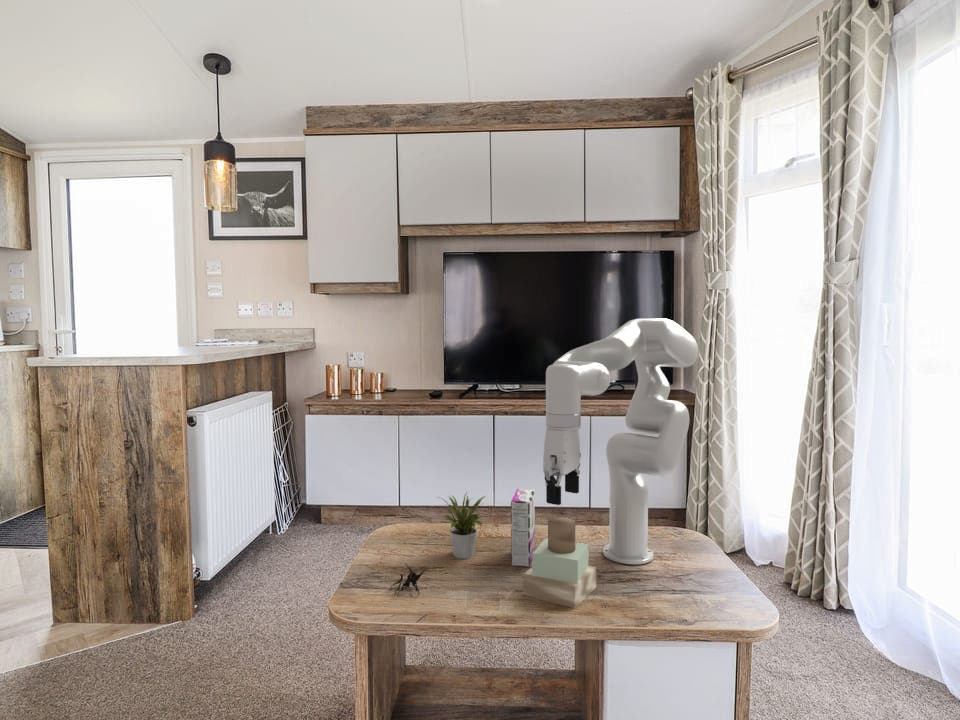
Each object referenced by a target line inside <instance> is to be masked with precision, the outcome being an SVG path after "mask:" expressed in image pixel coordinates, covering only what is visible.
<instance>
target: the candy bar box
mask: <svg viewBox="0 0 960 720" xmlns="http://www.w3.org/2000/svg"><path fill="white" fill-rule="evenodd" d="M535 491H536V490H535V489H528V488H527V489H526V488H517V489H516V491H515V493H514V495H513V497H512V498H511V500H510V529H511V530H510V533H511V534H510V535H511V536H510V537H511V541H510V542H511V543H510V545H511V549H510V551H511V553H510V554H511V557H510V558H511V559H510V560H511V566H512V567H521V568H522V567H523V568H531V564H532V560H533V552H534V551H535V550H536V545H535V544H536V540H535V538H536V536H535V535H536V533H535V531H536V529H535V528H536V527H535V526H536V525H535V521H536V520H535V519H536V517H535V516H536V515H535V508H536V507H535Z"/></svg>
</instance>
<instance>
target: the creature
mask: <svg viewBox="0 0 960 720" xmlns="http://www.w3.org/2000/svg"><path fill="white" fill-rule="evenodd" d="M405 566H406V567H407V569H408V570H409V571H410V572H409V574H408V575H406V574H405V573H400V574H399V576H400V579H399V580H398V581H396V582H395V583H393V584H392V585H391V586H390V587H389V591H390V592H392V591H391V589H392V586H395V585H398V587H397V589H396V590H395V591H394V597H395V596H396V597H398V596H399V594H400V592H403V591H404V589H406V588H409V587H411V586H410V585H411V584H412V586H413V587H414V588H415V593H416V592H418V594H417V596H416V597H414V599H416V598H418V597H419V596H420V590H419V588H418V584H417V583H418V580H419V579H420V578H421V577H422V575H423V573H424V572H426V571H427V570H428V569H427V568H425V569H424V570H422V571H421V572H420V573H419V574H416V571H413V570H412V569H411V568H410V567H409V565H408V564H407V563H405ZM404 577H406V578H405V579H404V580H405V582H402V580H403V578H404ZM401 585H402V586H401ZM397 592H398V593H397ZM396 594H397V595H396ZM412 594H413V595H414V593H411V594H410V595H411V597H413V595H412Z"/></svg>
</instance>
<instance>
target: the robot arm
mask: <svg viewBox="0 0 960 720" xmlns="http://www.w3.org/2000/svg"><path fill="white" fill-rule="evenodd" d="M698 357H699V345H698V343H697V341H696V339H695V338H694V336H693V335H692V334H690V333H689V331H687V330H686V329H685V328H683V327H682V326H681V325H680V324H678V323H676V322H675V321H674V320H671V319H668V318H663V317H662V318H635V319H631V320H628V321H626V322H625V323H624V324H623V325H621V326H620V327H619V328H617V329H616V330H615V331H613V332H612V333H611V334H609V335H608V336H607V337H605V338H602V339H600V340H595V341H593V342H590V343H588V344H584V345H582V346H579V347H576V348H573V349H571V350H569V351H568V352H566V353H565V354H563V355H562V356H560V357H559V358H557V359H556V360H555V361H554V362H553V363H552V364H550V365H548V366H547V368H546V371H545V428H546V429H545V435H544V443H543V444H544V445H543V458H542V459H543V460H542V461H543V462H542V470H543V473H544V481H545V482H544V483H545V486H546V487H545V489H546V493H545V494H546V495H545V496H546V501H545V502H546V503H547V504H551V505H555V506H560V505H561V504H562V485H561V481H562V477H563V476H564V492H566V493H571V494H579V493H580V472H581V471H580V467H581V463H580V461H581V457H582V454H581V447H580V446H581V445H580V444H581V441H580V429H581V424H582V420H581V415H582V413H581V411H582V409H581V407H582V406H581V405H582V404H581V400H582V399H581V397H582V396H593V397H594V396H595V397H596V396H599V395H602V394H603V393H604V392H606V391H607V389H608V388H609V387H610V385H611V384H610V383H611V374H610V372H613V371H619V370H623V369H624V368H626V367H627V366H629V365H630V364H631V363H633V361H634V362H635V367H636V372H637V376H638V377H637V378H638V380H637V384H636V388H635V390H634V393H633V396H632V398H631V400H630V403H629V406H628V408H627V411H626V414H625V423H624V424H625V426H626V427H627V429H628V430H630V431H631V432H618V433H615V434H612V436H611V437H609V439H608V441H607V443H606V447H605V448H606V449H605V453H606V460H607V466H608V472H609V524H608V525H609V530H608V531H609V537H608V538H609V540H608V541H609V542H608V544H606V545H604V546H603V548H602V555H603V556H604V557H605V558H606V559H608V560H610V561H612V562H615V563H619V564H625V565H645V564H649V563H650V562H652V561H653V559H654V555H655V554H654V551H652V549H650V548H649V547H648V536H649V535H648V528H649V527H648V525H649V523H648V522H649V515H648V514H649V488H648V484H647V483H648V482H647V481H646V479H645V477H644V475H647V476H651V477H652V476H654V477H661V478H666V477H669V476H670V475H671V474H673V472H674V471H675V469H676V466H677V463H678V461H679V457H680V455H681V452H682V449H683V446H684V444H685V440H686V437H687V434H688V431H689V428H690V427H689V426H690V412H689V409H688V408H687V406H686V405H685V404H684V403H683V402H681V401H677V400H672V399H671V400H670V399H668V397H669V395H670V392H671V385H670V383H669V381H668V378H667V377H666V375H665V373H664V372H663V371H662V369H661V367H664V368H665V367H668V368H669V367H670V368H688V367H691V366H693V365H694V364H695V363H696V361H697V359H698ZM632 432H633V433H632ZM643 474H644V475H643Z"/></svg>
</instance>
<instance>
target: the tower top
mask: <svg viewBox="0 0 960 720" xmlns="http://www.w3.org/2000/svg"><path fill="white" fill-rule="evenodd" d="M589 551H590V550H589V543H581V542H576V541H575V551H574V552H572V553H568V554H558V553H554V552H551V551H550V550H549V549H548V537H545V538H544V539H543V541H542V542H541V543H540V544H539V545H538V546H537V548H535V551H534V552H533V558H532V562H531V564H532V567H531V568H532V576H537V577H543V578H548V579H554V580H560V581H565V582H571V583H576V584H578V582H579V581H580V579H581V577H582V576H583V574H584V573H585V571H586V569H587V568H588V565H589V556H590V555H589Z"/></svg>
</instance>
